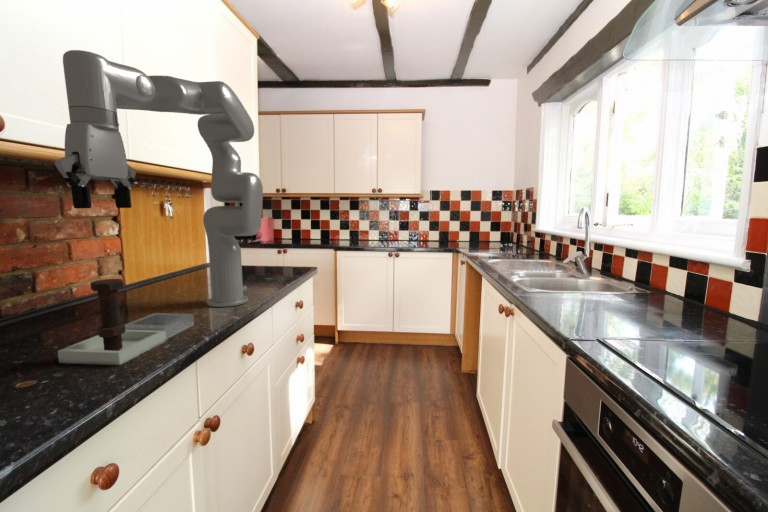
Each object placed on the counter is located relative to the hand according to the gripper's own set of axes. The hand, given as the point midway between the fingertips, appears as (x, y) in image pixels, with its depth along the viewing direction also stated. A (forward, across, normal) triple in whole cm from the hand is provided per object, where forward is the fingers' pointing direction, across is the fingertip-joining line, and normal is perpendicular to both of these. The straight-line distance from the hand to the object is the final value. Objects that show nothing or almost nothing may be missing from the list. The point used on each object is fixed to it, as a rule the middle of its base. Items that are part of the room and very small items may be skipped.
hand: (104, 208), depth 73 cm
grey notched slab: (+31, -12, 0) cm, 33 cm away
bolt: (+30, +2, 0) cm, 30 cm away
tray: (+31, +1, 0) cm, 31 cm away
